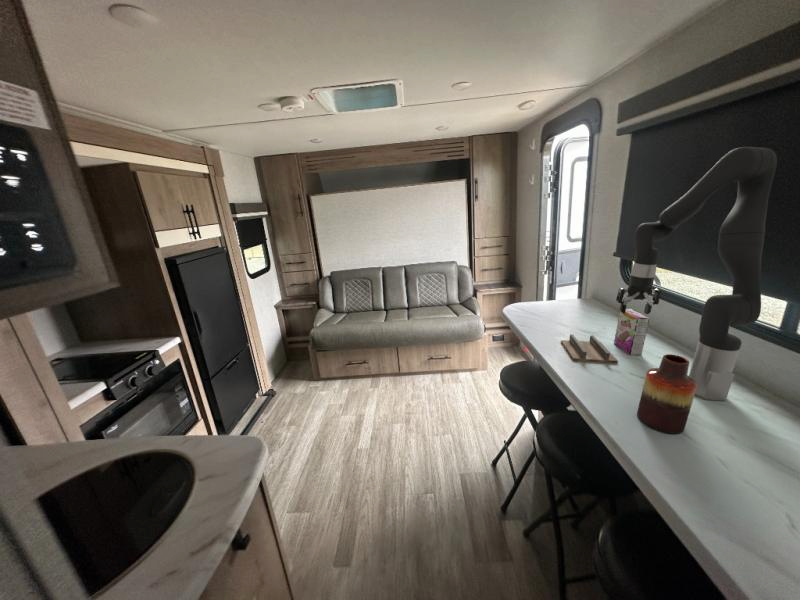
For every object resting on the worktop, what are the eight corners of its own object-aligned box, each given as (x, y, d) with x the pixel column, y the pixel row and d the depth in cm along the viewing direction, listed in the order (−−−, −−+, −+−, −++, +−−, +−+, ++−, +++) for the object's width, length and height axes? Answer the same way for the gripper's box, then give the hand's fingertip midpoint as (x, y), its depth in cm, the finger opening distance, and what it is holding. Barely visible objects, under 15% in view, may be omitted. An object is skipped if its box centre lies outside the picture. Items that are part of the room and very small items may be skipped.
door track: (600, 344, 139) (601, 335, 138) (617, 363, 124) (619, 353, 122) (560, 342, 142) (562, 334, 141) (572, 360, 127) (574, 351, 125)
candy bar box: (612, 343, 140) (619, 308, 135) (624, 343, 140) (631, 308, 135) (629, 355, 129) (637, 318, 124) (642, 355, 129) (650, 317, 124)
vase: (636, 405, 99) (650, 346, 93) (682, 418, 93) (699, 355, 87) (636, 425, 91) (651, 361, 85) (686, 440, 85) (706, 373, 79)
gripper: (626, 276, 122) (619, 315, 128) (669, 277, 120) (659, 317, 125) (618, 272, 129) (611, 309, 134) (658, 272, 127) (649, 310, 132)
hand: (634, 313), depth 130 cm, fingers open, 8 cm apart
